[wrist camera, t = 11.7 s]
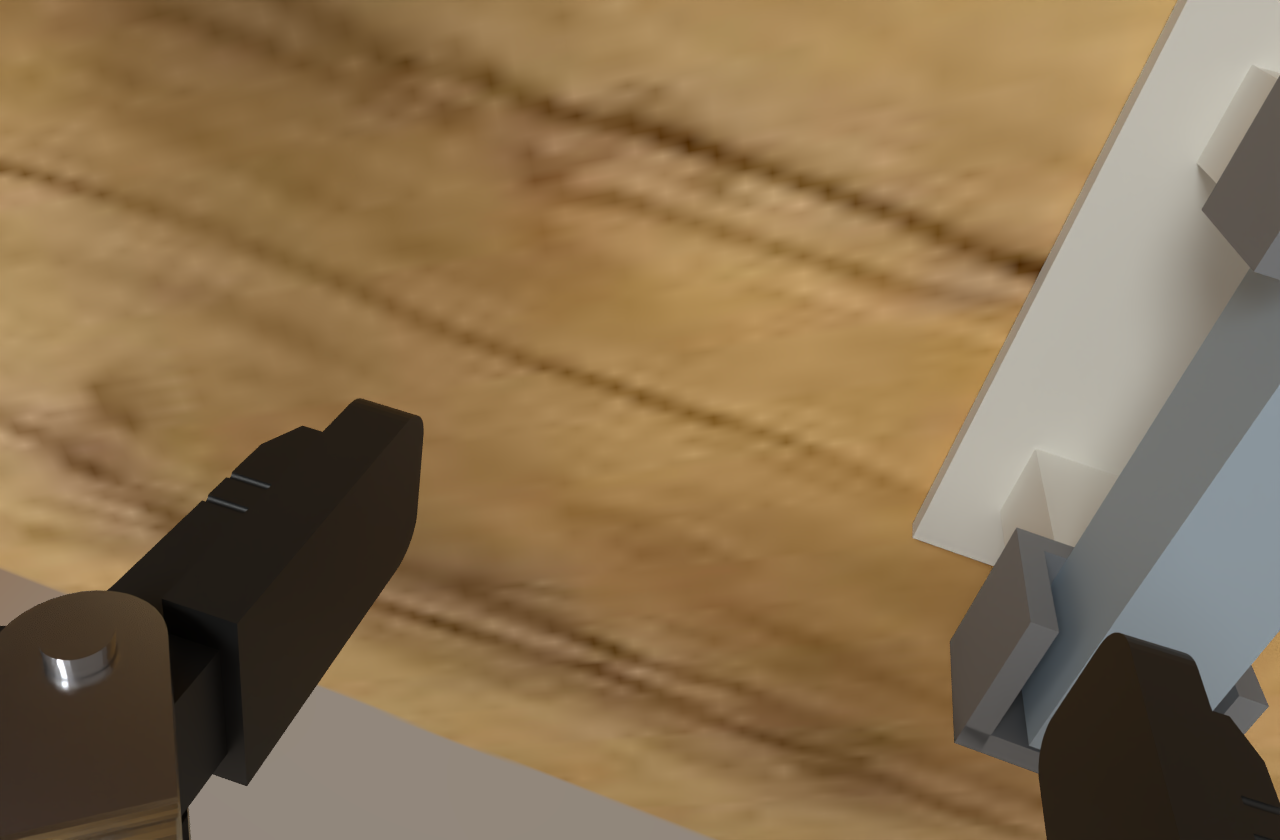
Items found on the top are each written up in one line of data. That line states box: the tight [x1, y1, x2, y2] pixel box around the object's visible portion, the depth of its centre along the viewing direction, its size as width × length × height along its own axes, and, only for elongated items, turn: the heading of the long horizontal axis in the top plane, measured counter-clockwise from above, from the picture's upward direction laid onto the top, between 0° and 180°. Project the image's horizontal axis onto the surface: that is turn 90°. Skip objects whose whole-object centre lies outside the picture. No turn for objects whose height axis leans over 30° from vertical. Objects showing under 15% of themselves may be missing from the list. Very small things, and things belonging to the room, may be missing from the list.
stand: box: [913, 0, 1280, 774], centre depth 29 cm, size 22×9×12 cm, turn 166°
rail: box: [1022, 268, 1280, 749], centre depth 25 cm, size 18×4×4 cm, turn 166°
